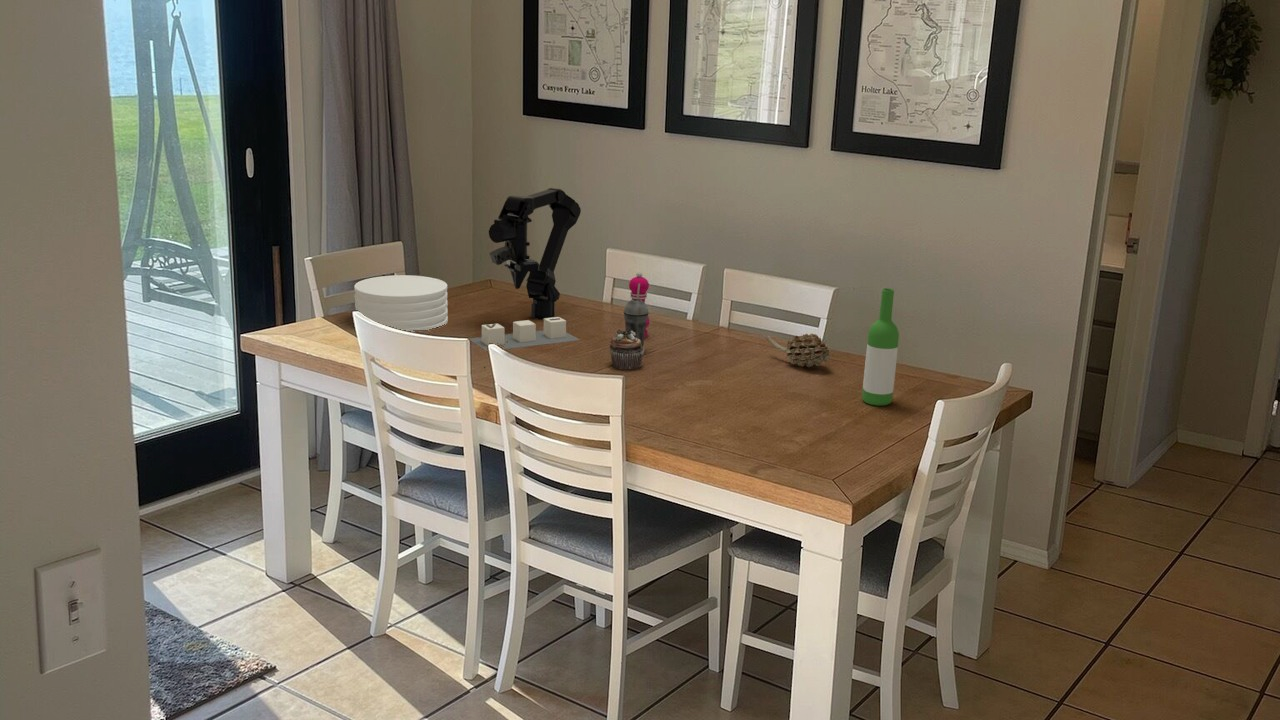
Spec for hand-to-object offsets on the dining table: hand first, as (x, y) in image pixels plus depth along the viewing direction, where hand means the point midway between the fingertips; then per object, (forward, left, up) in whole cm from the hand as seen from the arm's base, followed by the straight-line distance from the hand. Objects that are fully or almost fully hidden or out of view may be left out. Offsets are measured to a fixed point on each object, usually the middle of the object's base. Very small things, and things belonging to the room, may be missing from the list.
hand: (517, 288), depth 354 cm
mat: (+5, +16, -12) cm, 21 cm away
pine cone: (-56, +67, -12) cm, 88 cm away
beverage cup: (-20, +38, -12) cm, 45 cm away
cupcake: (-11, +49, -12) cm, 52 cm away
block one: (-5, +16, -11) cm, 20 cm away
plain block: (+5, +16, -11) cm, 20 cm away
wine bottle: (-55, +103, -12) cm, 117 cm away
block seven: (+15, +16, -11) cm, 25 cm away
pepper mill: (-29, +24, -12) cm, 40 cm away
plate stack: (+30, -20, -12) cm, 38 cm away
